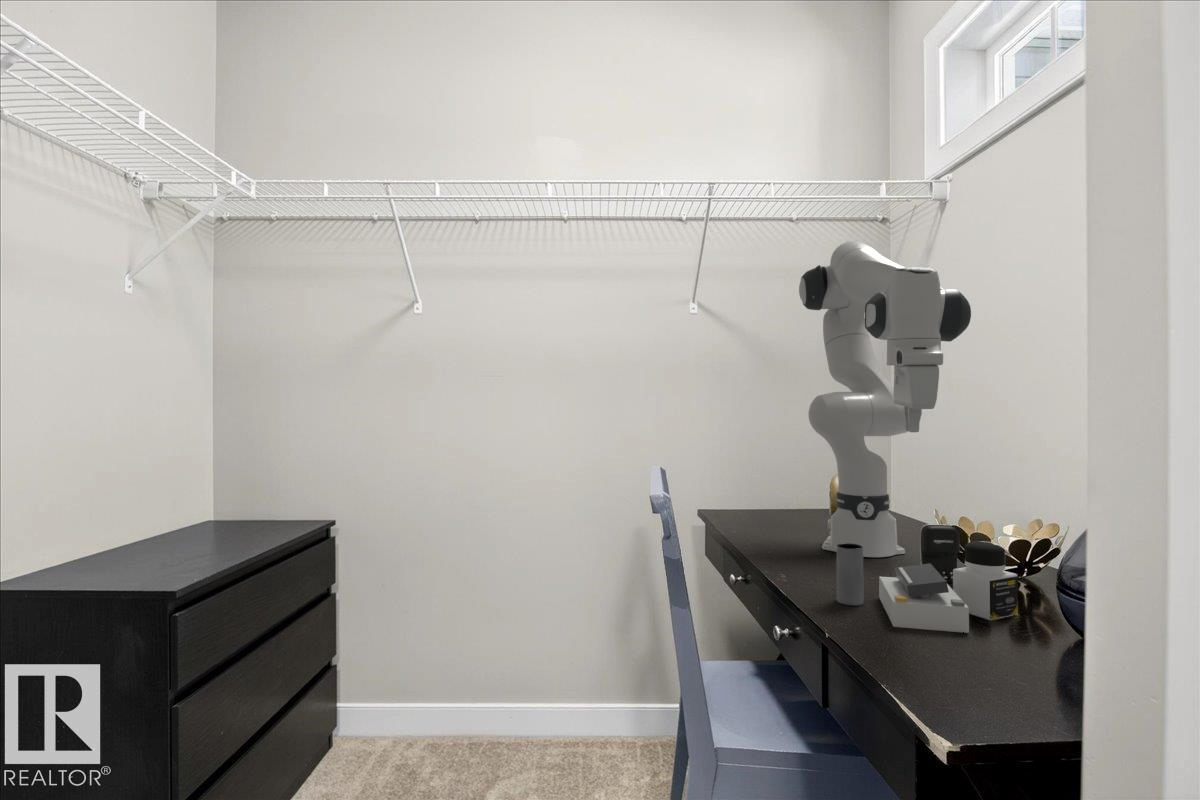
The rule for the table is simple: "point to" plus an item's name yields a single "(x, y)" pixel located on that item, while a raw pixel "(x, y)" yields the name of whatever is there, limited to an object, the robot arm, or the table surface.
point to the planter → (850, 574)
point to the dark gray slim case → (921, 580)
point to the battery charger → (940, 548)
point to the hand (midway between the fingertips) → (912, 431)
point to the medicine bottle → (986, 582)
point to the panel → (923, 608)
